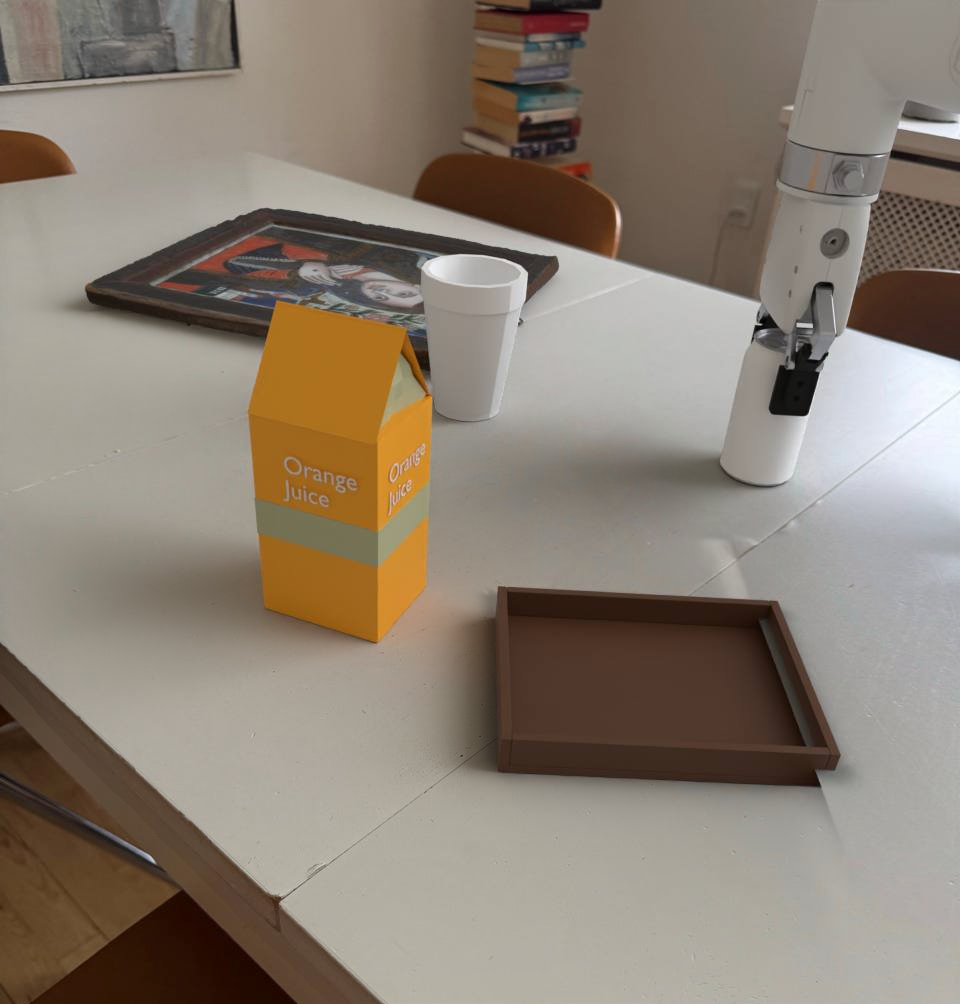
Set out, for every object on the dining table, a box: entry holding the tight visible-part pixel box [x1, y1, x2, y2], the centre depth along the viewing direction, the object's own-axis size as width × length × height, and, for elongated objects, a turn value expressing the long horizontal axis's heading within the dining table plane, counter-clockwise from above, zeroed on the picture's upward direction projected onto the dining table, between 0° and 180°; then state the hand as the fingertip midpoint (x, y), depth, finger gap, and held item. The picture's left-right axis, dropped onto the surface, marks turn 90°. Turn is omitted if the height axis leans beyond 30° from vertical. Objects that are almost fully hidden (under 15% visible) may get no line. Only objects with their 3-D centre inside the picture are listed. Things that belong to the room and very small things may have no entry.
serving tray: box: [494, 585, 842, 788], centre depth 63 cm, size 19×15×3 cm
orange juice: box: [246, 300, 433, 644], centre depth 64 cm, size 8×9×20 cm
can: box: [719, 328, 823, 487], centre depth 86 cm, size 6×6×12 cm
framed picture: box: [84, 207, 560, 372], centre depth 120 cm, size 40×45×3 cm
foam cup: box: [421, 254, 528, 422], centre depth 93 cm, size 10×9×13 cm
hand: (774, 391), depth 85 cm, fingers open, 8 cm apart
